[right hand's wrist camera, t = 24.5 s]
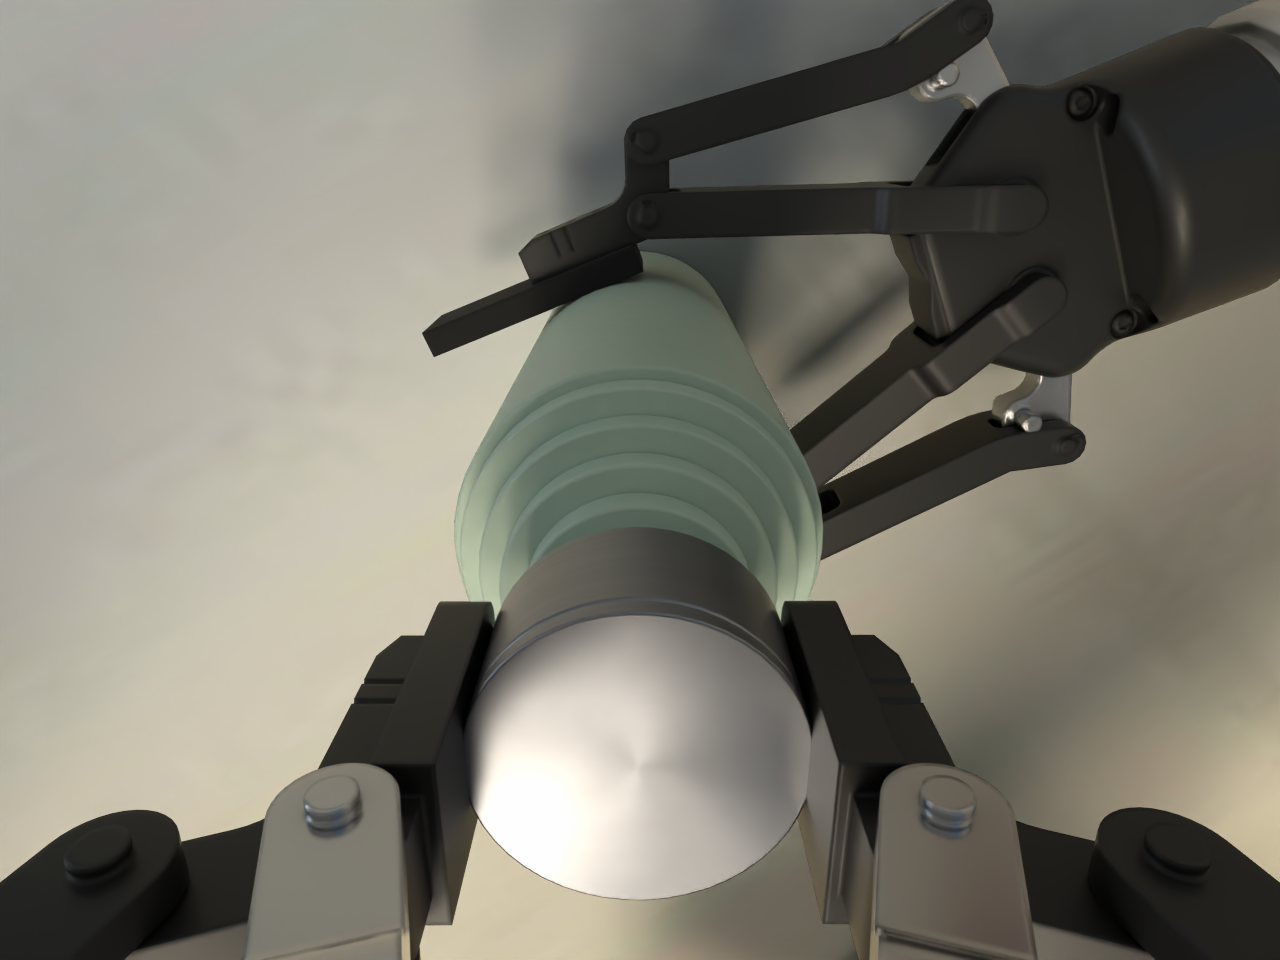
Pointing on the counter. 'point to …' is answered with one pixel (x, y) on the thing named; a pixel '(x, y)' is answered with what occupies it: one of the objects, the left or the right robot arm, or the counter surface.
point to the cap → (637, 718)
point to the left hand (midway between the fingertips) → (493, 446)
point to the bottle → (640, 442)
